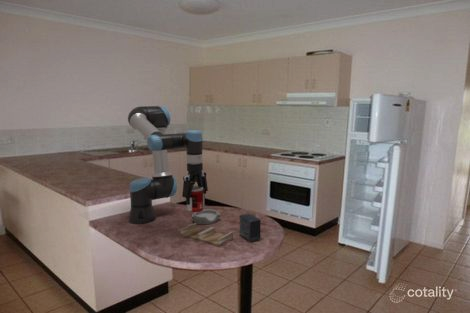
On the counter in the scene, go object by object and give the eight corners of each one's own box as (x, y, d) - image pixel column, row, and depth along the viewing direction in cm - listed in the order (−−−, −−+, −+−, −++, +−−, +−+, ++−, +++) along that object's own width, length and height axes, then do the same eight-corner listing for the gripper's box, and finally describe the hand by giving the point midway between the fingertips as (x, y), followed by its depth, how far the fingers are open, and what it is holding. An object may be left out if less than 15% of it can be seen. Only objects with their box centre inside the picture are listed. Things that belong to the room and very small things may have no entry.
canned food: (202, 206, 167) (202, 185, 165) (204, 211, 159) (204, 189, 157) (187, 207, 165) (186, 186, 163) (188, 213, 158) (188, 190, 156)
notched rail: (181, 236, 165) (180, 229, 164) (195, 229, 174) (195, 222, 173) (219, 247, 152) (219, 239, 151) (233, 239, 161) (232, 232, 160)
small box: (261, 240, 159) (261, 219, 157) (249, 242, 156) (249, 221, 154) (250, 232, 168) (250, 213, 167) (239, 235, 165) (238, 215, 164)
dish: (223, 219, 189) (222, 211, 188) (207, 227, 177) (207, 218, 176) (203, 215, 196) (202, 207, 196) (187, 222, 185) (187, 213, 184)
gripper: (184, 167, 148) (185, 215, 152) (214, 160, 164) (215, 204, 168) (173, 165, 153) (174, 212, 156) (203, 158, 169) (204, 201, 173)
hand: (195, 208), depth 162 cm, fingers closed on canned food, 8 cm apart
